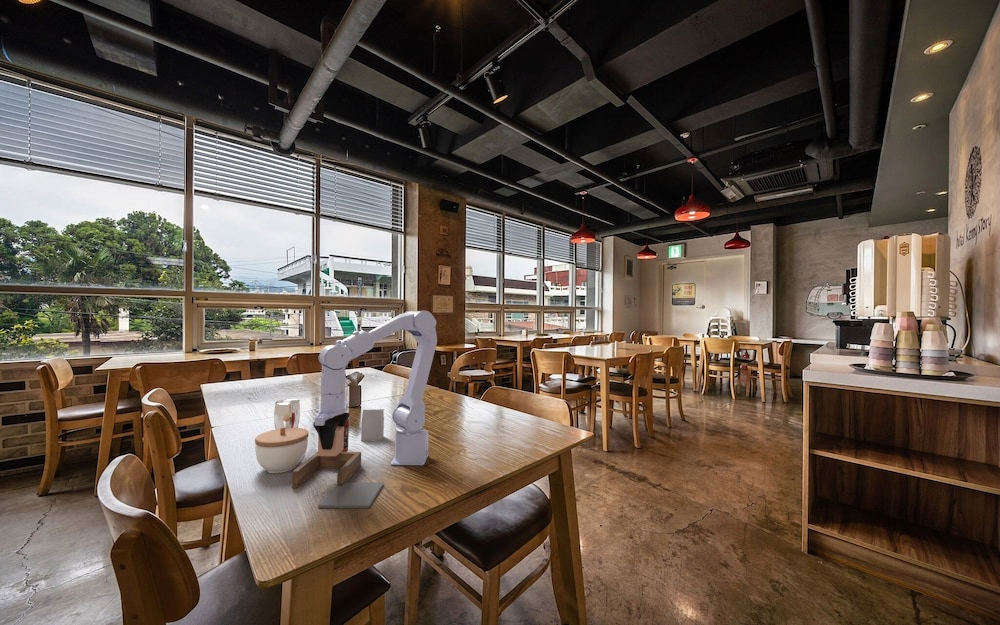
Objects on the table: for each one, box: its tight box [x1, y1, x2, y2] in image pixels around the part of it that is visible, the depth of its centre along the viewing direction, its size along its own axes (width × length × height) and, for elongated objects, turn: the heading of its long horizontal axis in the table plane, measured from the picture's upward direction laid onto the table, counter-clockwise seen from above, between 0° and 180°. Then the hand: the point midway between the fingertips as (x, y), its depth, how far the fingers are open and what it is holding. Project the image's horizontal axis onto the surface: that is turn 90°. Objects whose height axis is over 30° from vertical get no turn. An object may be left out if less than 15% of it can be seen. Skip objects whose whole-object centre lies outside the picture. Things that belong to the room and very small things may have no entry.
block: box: [317, 427, 344, 456], centre depth 93 cm, size 4×4×6 cm
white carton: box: [273, 398, 301, 430], centre depth 112 cm, size 7×7×15 cm
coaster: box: [317, 481, 385, 509], centre depth 85 cm, size 11×11×1 cm
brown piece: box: [291, 451, 362, 489], centre depth 95 cm, size 12×13×4 cm
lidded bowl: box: [254, 427, 309, 474], centre depth 99 cm, size 13×13×11 cm
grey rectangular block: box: [360, 408, 385, 442], centre depth 124 cm, size 4×7×10 cm, turn 101°
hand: (331, 445), depth 93 cm, fingers closed on block, 4 cm apart
